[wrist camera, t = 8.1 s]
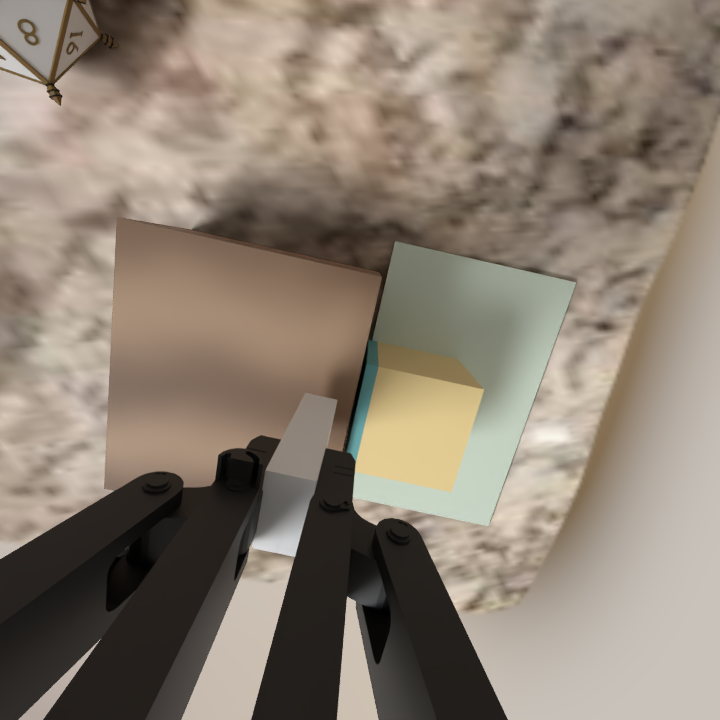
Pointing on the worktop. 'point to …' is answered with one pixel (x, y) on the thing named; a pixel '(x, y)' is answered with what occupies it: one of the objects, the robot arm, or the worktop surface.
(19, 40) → the game die
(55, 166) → the worktop surface
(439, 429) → the ochre block
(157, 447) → the step
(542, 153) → the worktop surface
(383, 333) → the mat
